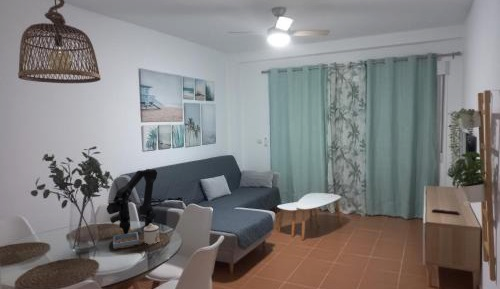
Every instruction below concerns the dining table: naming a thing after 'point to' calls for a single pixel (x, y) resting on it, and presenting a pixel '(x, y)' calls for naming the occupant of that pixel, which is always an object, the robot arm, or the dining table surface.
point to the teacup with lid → (151, 234)
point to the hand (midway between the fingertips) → (125, 233)
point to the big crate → (126, 241)
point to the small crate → (123, 231)
